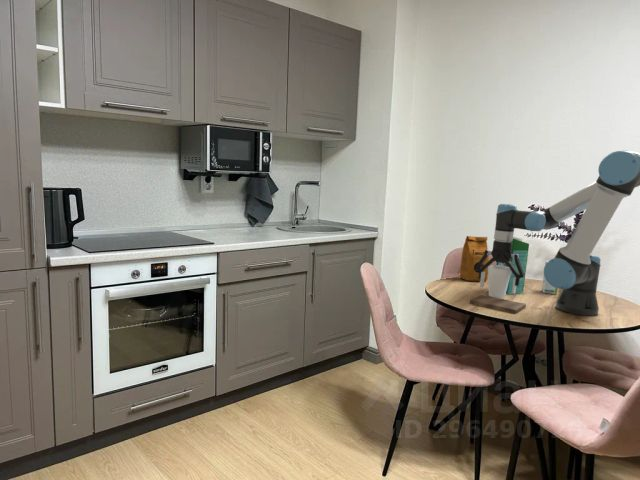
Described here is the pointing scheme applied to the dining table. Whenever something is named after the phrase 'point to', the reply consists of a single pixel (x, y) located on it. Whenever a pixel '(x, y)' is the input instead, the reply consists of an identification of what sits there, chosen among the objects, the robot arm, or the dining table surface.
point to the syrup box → (548, 286)
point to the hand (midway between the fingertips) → (497, 289)
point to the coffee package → (473, 258)
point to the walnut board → (498, 304)
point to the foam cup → (498, 280)
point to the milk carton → (522, 250)
